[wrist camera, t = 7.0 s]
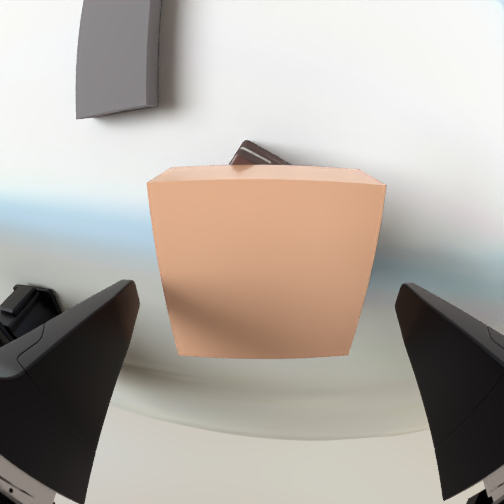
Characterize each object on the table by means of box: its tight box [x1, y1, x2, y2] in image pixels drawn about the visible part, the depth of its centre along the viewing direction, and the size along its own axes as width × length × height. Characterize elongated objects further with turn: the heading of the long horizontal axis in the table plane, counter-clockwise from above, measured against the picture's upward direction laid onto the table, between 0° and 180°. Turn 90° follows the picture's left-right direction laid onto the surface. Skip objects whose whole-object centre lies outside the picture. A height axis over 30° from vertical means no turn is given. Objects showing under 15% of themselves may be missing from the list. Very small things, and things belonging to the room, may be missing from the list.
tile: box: [147, 165, 386, 359], centre depth 10 cm, size 7×7×2 cm
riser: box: [76, 0, 162, 119], centre depth 12 cm, size 9×5×2 cm, turn 0°
